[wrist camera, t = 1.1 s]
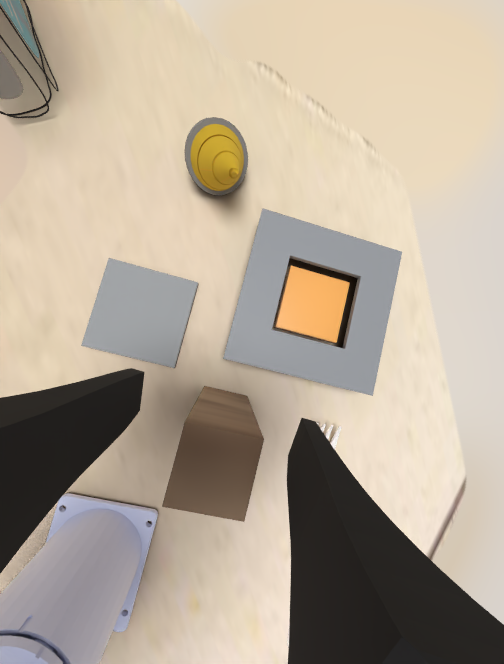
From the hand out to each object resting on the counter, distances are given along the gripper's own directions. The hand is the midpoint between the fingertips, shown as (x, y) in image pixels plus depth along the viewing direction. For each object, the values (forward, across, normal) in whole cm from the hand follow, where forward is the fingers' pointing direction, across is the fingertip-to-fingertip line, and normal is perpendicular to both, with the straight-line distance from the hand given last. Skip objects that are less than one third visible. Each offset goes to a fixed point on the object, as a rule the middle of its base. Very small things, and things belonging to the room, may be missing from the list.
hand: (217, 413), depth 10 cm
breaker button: (+13, -4, -4) cm, 14 cm away
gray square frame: (+14, -4, -4) cm, 15 cm away
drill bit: (+16, +6, -13) cm, 22 cm away
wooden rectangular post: (+9, +1, +7) cm, 12 cm away
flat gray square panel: (+11, +10, 0) cm, 15 cm away
